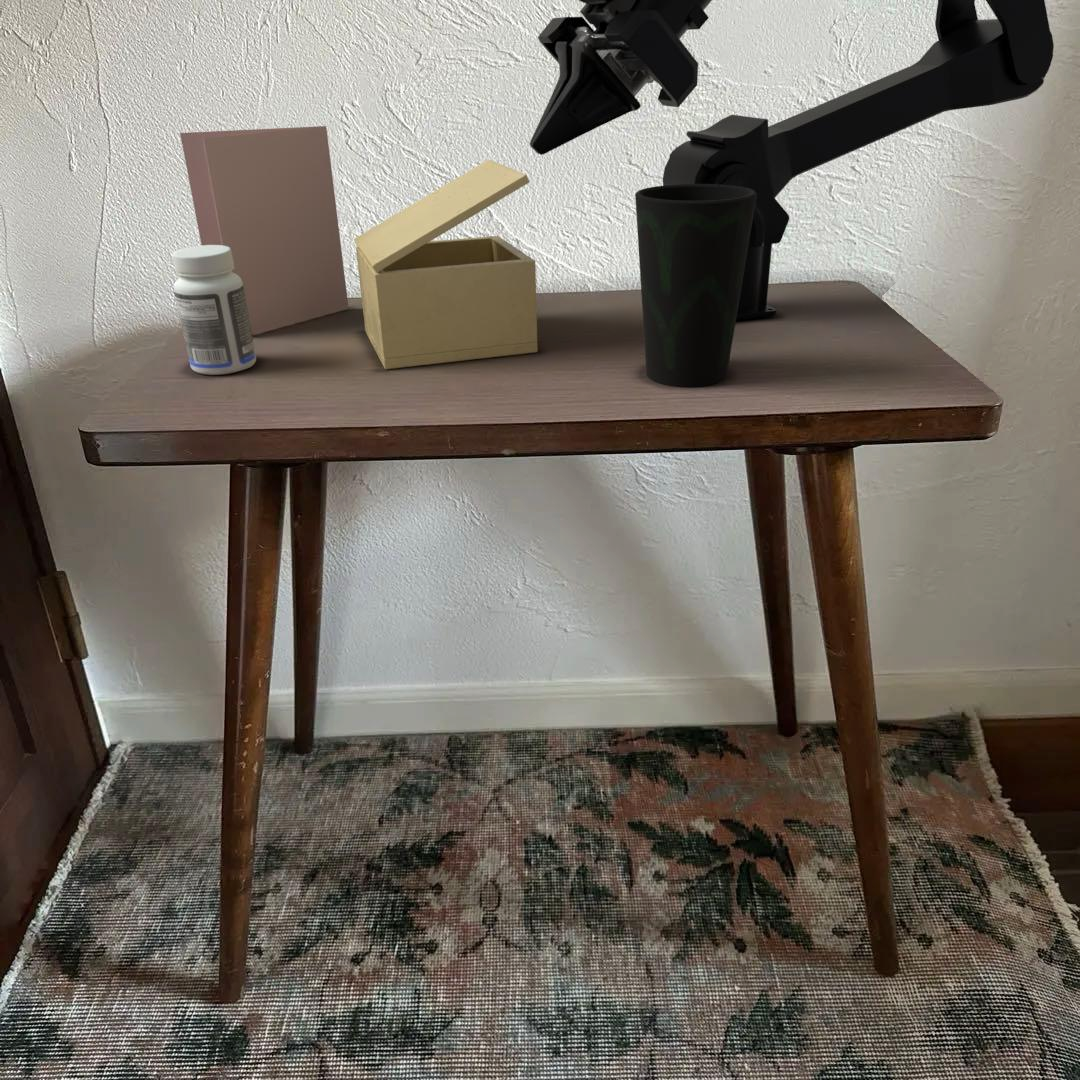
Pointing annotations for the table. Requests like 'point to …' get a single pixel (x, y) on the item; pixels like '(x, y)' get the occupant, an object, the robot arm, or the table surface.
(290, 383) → the table surface
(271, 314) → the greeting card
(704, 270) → the cup
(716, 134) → the robot arm
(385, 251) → the lid
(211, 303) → the pill bottle
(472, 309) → the pale yellow box
